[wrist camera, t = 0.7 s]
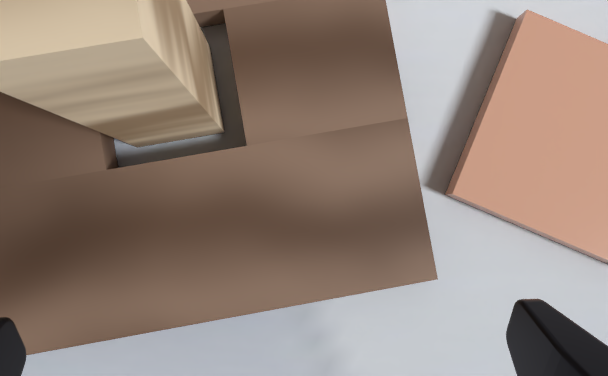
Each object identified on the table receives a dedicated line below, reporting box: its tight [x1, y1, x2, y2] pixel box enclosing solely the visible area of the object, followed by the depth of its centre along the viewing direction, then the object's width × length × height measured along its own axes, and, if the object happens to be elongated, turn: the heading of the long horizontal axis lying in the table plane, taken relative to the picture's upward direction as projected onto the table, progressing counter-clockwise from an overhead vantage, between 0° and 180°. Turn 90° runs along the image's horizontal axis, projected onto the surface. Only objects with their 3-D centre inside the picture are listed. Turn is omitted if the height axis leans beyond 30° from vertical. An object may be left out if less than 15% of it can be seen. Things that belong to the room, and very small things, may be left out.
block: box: [0, 0, 224, 147], centre depth 16 cm, size 4×4×12 cm
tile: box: [445, 10, 608, 264], centre depth 22 cm, size 9×9×1 cm
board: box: [0, 0, 438, 355], centre depth 21 cm, size 20×20×2 cm
